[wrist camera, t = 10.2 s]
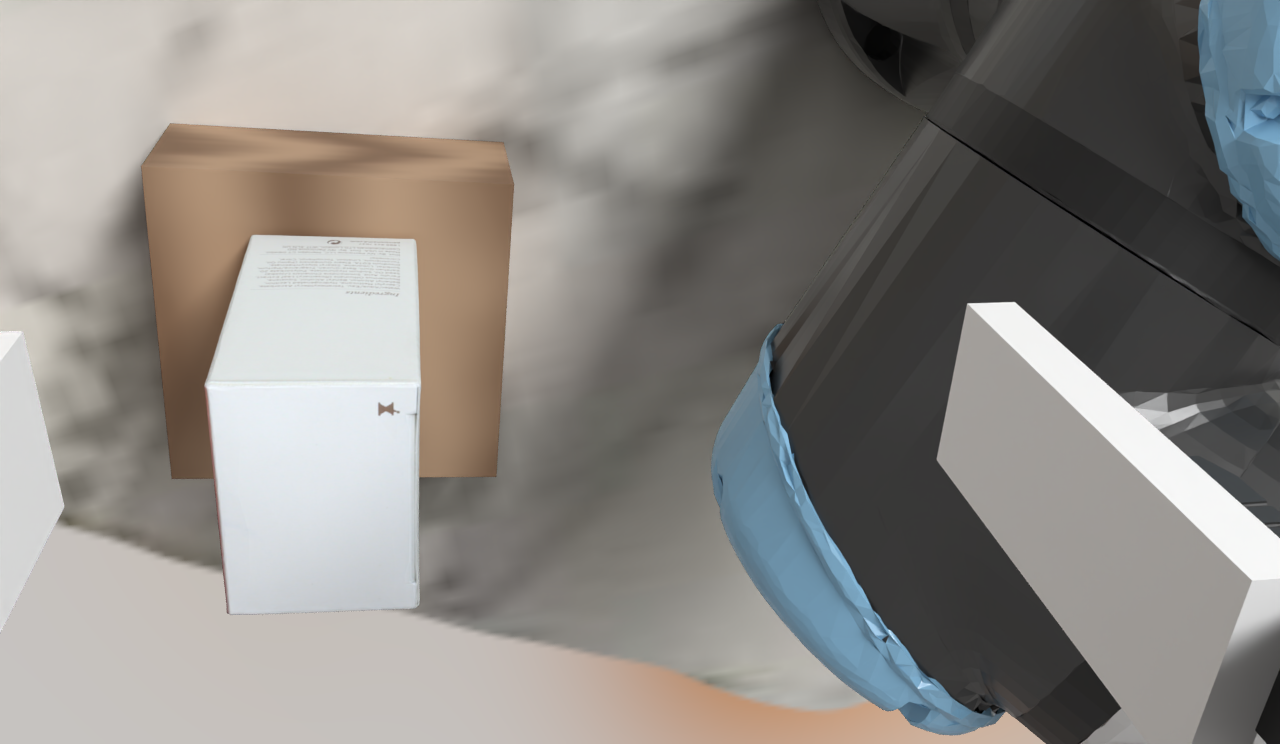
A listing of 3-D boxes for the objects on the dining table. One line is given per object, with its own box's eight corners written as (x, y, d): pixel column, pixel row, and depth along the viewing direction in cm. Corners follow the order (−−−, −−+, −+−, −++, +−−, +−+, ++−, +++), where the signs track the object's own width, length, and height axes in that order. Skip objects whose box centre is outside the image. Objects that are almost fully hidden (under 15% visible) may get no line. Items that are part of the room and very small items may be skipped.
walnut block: (503, 142, 43) (514, 184, 38) (488, 413, 48) (496, 476, 44) (170, 123, 40) (141, 166, 36) (194, 411, 46) (171, 478, 41)
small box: (250, 229, 37) (198, 377, 28) (419, 234, 39) (422, 378, 30) (263, 433, 41) (221, 622, 32) (417, 432, 42) (420, 615, 33)
